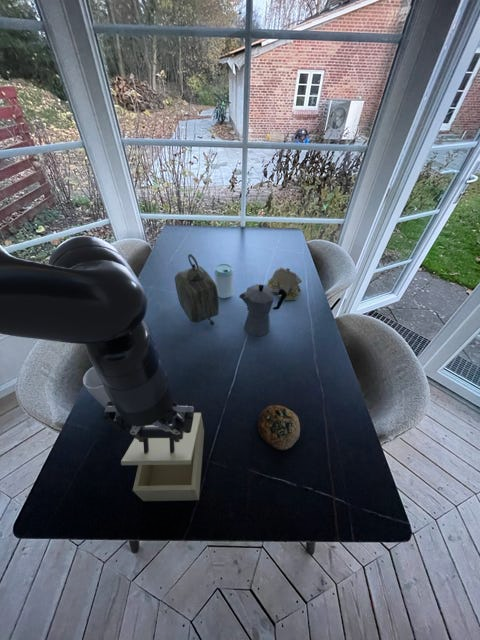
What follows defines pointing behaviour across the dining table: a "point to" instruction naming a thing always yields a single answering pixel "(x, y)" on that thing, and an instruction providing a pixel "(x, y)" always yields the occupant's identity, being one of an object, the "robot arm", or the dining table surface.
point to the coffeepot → (260, 307)
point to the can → (224, 280)
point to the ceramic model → (286, 283)
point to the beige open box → (172, 477)
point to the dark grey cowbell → (197, 293)
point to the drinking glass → (95, 387)
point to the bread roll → (279, 427)
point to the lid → (162, 446)
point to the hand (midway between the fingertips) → (161, 436)
